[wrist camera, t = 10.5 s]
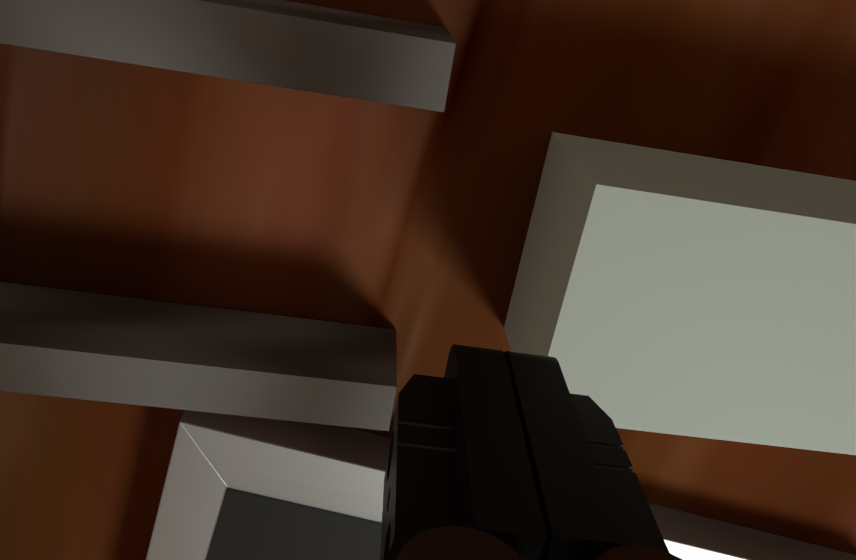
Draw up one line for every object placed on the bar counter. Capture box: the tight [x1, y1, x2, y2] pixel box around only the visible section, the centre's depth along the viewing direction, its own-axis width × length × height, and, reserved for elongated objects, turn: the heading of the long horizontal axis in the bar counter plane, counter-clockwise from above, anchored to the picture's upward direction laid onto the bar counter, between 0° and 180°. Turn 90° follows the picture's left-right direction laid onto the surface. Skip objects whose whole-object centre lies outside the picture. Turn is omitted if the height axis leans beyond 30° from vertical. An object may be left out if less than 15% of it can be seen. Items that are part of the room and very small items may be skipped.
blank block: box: [504, 132, 856, 455], centre depth 15 cm, size 10×5×4 cm, turn 80°
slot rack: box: [0, 0, 456, 431], centre depth 14 cm, size 16×8×2 cm, turn 81°
